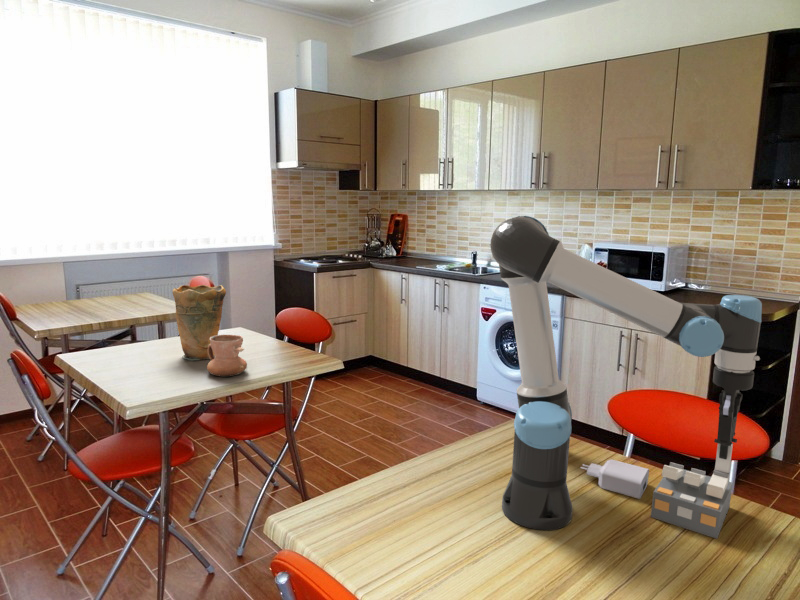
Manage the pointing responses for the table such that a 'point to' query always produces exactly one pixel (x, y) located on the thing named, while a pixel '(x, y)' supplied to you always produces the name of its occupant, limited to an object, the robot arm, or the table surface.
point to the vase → (198, 317)
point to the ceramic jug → (226, 355)
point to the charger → (620, 477)
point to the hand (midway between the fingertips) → (722, 470)
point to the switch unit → (690, 505)
